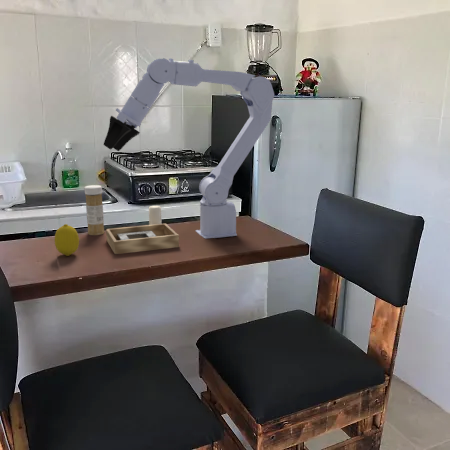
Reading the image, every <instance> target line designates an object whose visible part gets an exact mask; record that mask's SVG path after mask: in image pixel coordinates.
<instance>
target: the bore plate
mask: <svg viewBox="0 0 450 450" xmlns="http://www.w3.org/2000/svg"><path fill="white" fill-rule="evenodd" d="M147 237H157V236H156V235H155V234H154V233H153V232H152V231H151V230H150V231H140V232H130V233H120V234H117V241H118V240H128V239H137V238H147Z"/></svg>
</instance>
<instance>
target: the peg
mask: <svg viewBox="0 0 450 450" xmlns="http://www.w3.org/2000/svg"><path fill="white" fill-rule="evenodd" d="M155 224H163V223H162V206H160V205H151V206H149V207H148V225H155Z"/></svg>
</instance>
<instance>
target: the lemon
mask: <svg viewBox="0 0 450 450" xmlns="http://www.w3.org/2000/svg"><path fill="white" fill-rule="evenodd" d="M79 245H80V237H79V233H78V231H77V230H76V228H75V227H74V226H72V225H69V224H67V223H65V224H63V225H62V226H60V227H58V229H57V230H56V231H55V234H54V246H55V248H56V251H58V252H59V253H61V255H65V256H66V257H68V256H71V255H72V254H74V253H75V252H76V251H77V250H78V249H79V247H80V246H79Z"/></svg>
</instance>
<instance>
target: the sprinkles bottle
mask: <svg viewBox="0 0 450 450" xmlns="http://www.w3.org/2000/svg"><path fill="white" fill-rule="evenodd" d="M84 194H85V203H86V204H85V209H86V220H87V221H86V222H87V234H88V235H89V236H100V235H103V234H105V233H106V231H105V225H104V221H105V220H104V219H105V218H104V217H105V216H104V207H103V205H104V204H103V196H102V195H103V188H102V185H99V184H95V185H94V184H91V185H86V186H84Z"/></svg>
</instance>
